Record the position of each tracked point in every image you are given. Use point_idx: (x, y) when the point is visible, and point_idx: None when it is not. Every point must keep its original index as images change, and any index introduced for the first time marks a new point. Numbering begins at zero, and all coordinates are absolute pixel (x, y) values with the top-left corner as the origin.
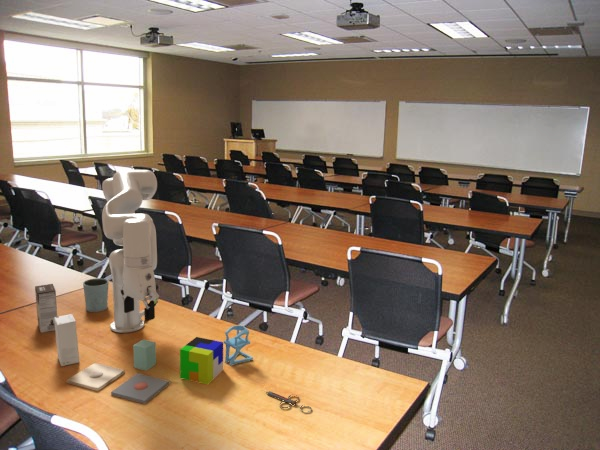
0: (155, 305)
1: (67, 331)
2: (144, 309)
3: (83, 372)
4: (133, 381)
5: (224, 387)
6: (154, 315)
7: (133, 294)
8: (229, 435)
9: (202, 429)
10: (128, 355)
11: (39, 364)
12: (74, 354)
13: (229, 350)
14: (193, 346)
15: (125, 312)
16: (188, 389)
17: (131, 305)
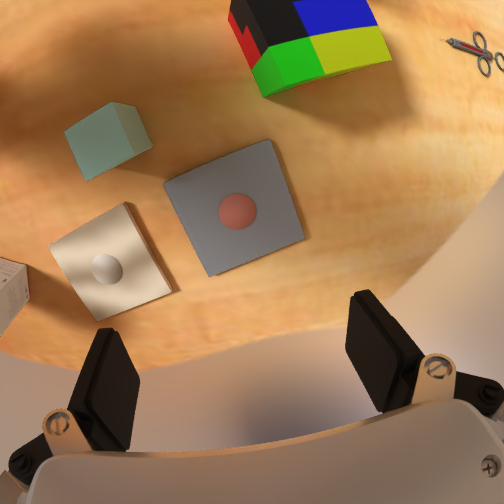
0: (448, 361)
1: None
2: (381, 410)
3: (80, 285)
4: (199, 214)
5: None
6: (377, 301)
7: None
8: (473, 185)
9: (441, 204)
10: (44, 152)
11: None
12: (16, 285)
13: None
14: (301, 36)
15: (137, 383)
16: (328, 121)
17: (115, 380)
